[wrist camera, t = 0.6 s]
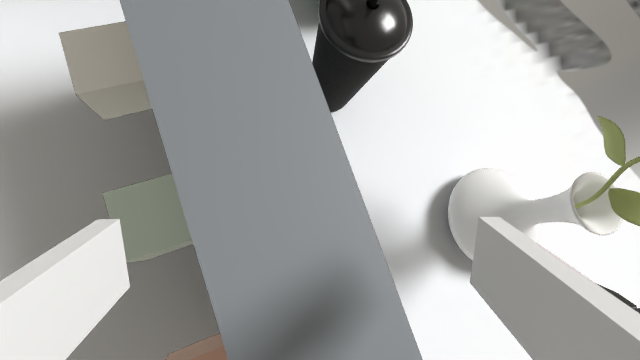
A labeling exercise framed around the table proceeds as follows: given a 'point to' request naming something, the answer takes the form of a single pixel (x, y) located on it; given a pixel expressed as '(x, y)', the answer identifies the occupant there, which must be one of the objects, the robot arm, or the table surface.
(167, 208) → the sage key
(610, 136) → the flower in vase
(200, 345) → the terracotta key
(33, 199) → the table surface
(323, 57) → the drinking cup
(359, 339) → the keypad panel
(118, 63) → the cream key
